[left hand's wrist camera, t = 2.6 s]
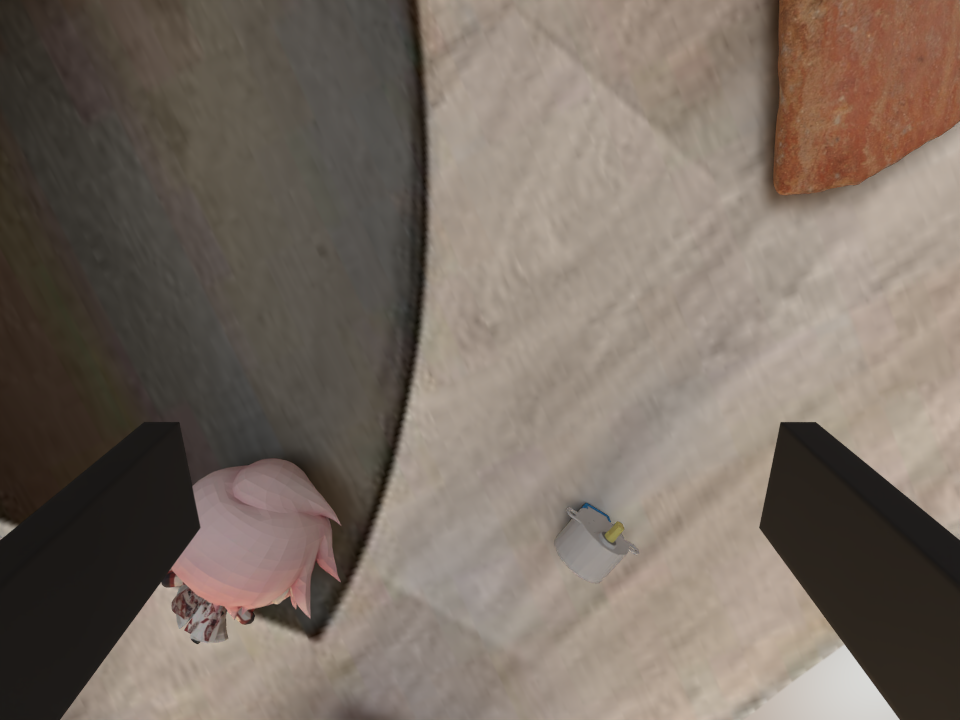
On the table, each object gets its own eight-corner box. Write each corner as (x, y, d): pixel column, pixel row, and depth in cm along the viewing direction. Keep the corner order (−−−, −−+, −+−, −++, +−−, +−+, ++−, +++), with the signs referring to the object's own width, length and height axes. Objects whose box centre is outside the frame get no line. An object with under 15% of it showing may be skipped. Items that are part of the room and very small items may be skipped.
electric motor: (643, 515, 46) (662, 556, 41) (606, 555, 48) (620, 600, 43) (574, 473, 45) (585, 512, 40) (538, 517, 46) (545, 559, 41)
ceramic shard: (1069, 170, 32) (778, 202, 35) (994, 151, 37) (749, 179, 40) (1181, -176, 25) (808, -102, 28) (1068, -137, 31) (767, -79, 33)
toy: (317, 625, 48) (397, 500, 43) (227, 732, 38) (316, 584, 33) (209, 540, 50) (273, 408, 44) (95, 620, 40) (161, 462, 34)
